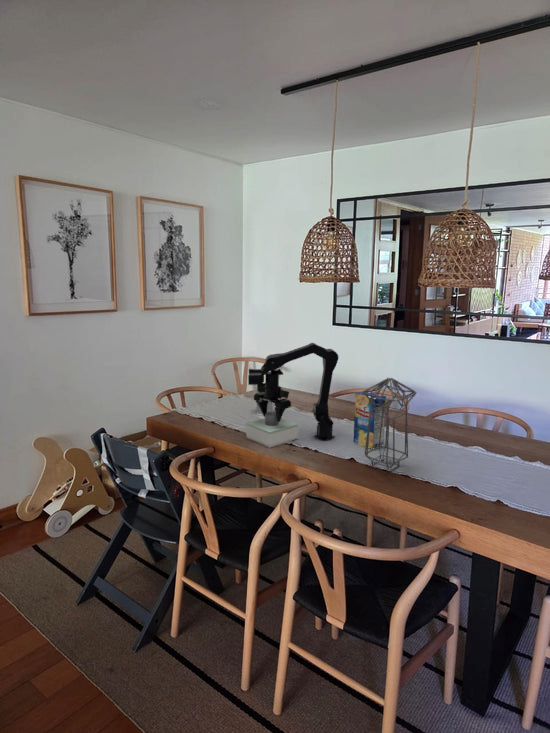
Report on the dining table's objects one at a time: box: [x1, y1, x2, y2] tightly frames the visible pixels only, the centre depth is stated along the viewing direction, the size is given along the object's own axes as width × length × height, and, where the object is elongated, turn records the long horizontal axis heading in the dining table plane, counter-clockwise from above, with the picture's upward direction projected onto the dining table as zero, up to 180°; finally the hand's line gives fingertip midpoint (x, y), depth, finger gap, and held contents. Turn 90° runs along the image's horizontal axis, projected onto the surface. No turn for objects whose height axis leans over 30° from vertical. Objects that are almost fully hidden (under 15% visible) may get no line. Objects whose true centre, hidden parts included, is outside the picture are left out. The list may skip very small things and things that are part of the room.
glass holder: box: [255, 382, 284, 414], centre depth 249 cm, size 9×14×15 cm, turn 105°
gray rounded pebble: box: [264, 411, 279, 426], centre depth 211 cm, size 6×6×4 cm
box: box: [245, 424, 299, 449], centre depth 212 cm, size 16×16×6 cm
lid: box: [245, 417, 299, 434], centre depth 211 cm, size 16×16×1 cm
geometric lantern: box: [361, 377, 417, 471], centre depth 180 cm, size 16×16×35 cm
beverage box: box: [352, 391, 387, 449], centre depth 204 cm, size 7×11×22 cm, turn 38°
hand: (271, 419), depth 211 cm, fingers open, 9 cm apart
